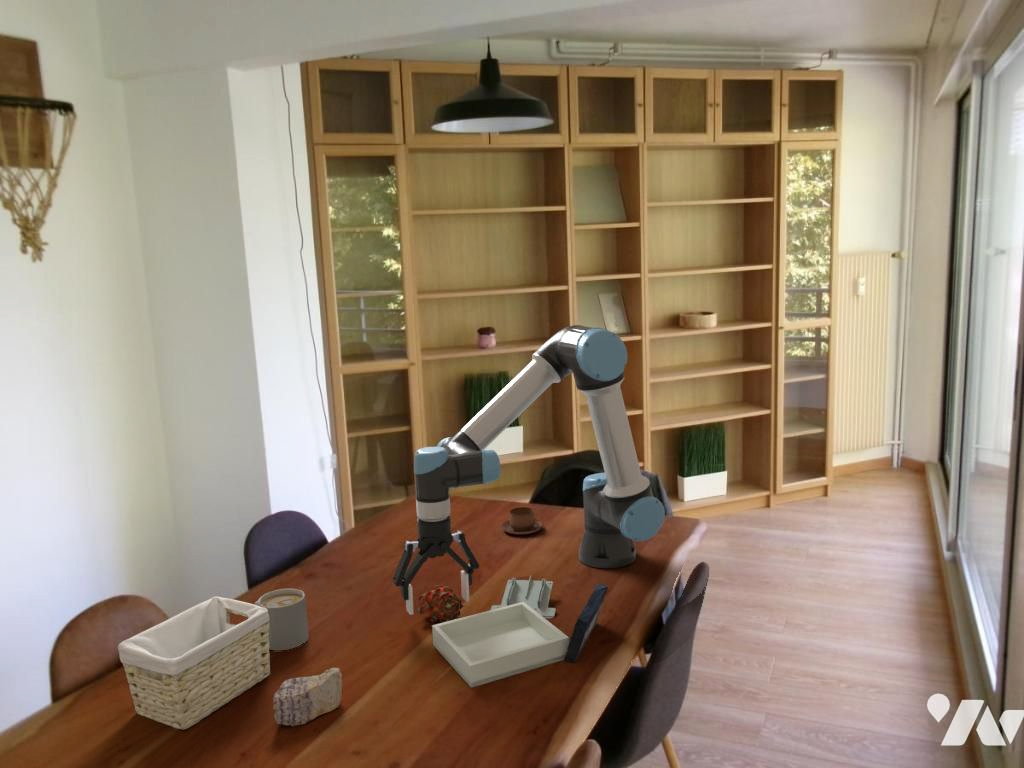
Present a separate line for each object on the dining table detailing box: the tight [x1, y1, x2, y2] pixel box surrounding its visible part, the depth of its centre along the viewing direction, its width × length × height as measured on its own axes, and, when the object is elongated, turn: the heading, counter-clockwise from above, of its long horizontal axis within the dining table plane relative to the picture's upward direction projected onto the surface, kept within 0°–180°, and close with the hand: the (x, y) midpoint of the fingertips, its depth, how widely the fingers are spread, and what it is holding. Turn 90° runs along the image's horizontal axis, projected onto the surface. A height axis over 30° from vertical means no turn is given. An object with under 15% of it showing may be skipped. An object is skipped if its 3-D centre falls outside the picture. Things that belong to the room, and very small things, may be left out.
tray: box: [431, 602, 570, 688], centre depth 172 cm, size 22×20×4 cm
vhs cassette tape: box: [563, 582, 609, 664], centre depth 174 cm, size 18×3×10 cm, turn 159°
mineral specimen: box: [272, 667, 343, 727], centre depth 152 cm, size 14×8×7 cm, turn 135°
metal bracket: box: [490, 575, 557, 619], centre depth 194 cm, size 14×6×15 cm
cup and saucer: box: [501, 506, 543, 536], centre depth 244 cm, size 12×12×6 cm
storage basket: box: [117, 596, 271, 731], centre depth 159 cm, size 24×16×15 cm
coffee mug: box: [253, 588, 310, 650], centre depth 182 cm, size 13×10×10 cm
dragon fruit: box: [417, 584, 465, 623], centre depth 188 cm, size 8×8×12 cm
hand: (438, 605), depth 188 cm, fingers open, 13 cm apart
